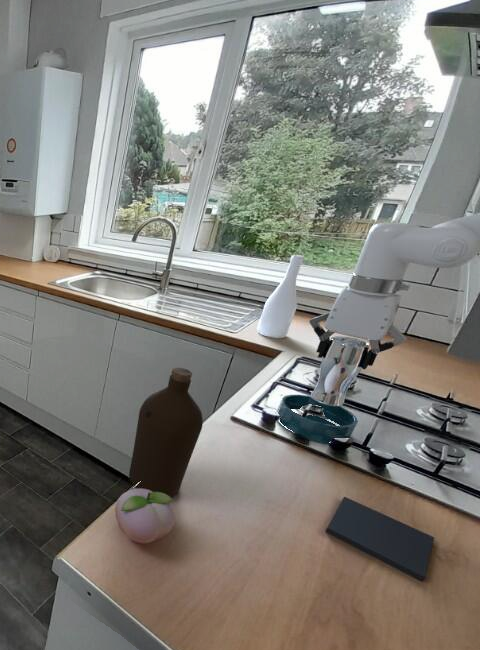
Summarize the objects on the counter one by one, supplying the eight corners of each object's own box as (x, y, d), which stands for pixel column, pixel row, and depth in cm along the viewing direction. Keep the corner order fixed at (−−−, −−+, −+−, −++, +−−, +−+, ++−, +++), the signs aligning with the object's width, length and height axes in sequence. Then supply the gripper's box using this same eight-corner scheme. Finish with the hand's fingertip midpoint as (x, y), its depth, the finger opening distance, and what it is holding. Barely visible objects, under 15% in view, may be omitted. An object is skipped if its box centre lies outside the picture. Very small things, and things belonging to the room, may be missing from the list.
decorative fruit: (140, 511, 75) (150, 468, 71) (176, 546, 68) (190, 501, 64) (98, 526, 71) (107, 482, 67) (132, 565, 65) (144, 518, 60)
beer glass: (300, 392, 100) (322, 335, 94) (330, 393, 99) (353, 336, 93) (322, 407, 93) (346, 347, 87) (353, 408, 93) (380, 347, 87)
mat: (431, 541, 69) (434, 537, 69) (422, 581, 63) (425, 577, 62) (342, 500, 78) (344, 496, 78) (325, 531, 71) (327, 527, 71)
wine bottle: (250, 330, 160) (275, 253, 147) (269, 328, 162) (295, 252, 149) (272, 339, 151) (301, 258, 139) (292, 337, 154) (321, 257, 141)
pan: (355, 430, 99) (363, 412, 97) (340, 453, 91) (349, 435, 89) (285, 405, 109) (292, 388, 107) (266, 424, 101) (273, 406, 99)
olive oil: (170, 510, 75) (204, 392, 65) (116, 481, 82) (139, 370, 71) (190, 482, 82) (224, 371, 71) (139, 457, 89) (163, 353, 78)
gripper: (435, 290, 81) (397, 370, 88) (326, 274, 93) (300, 346, 101) (430, 296, 77) (391, 380, 84) (316, 279, 89) (290, 353, 96)
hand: (342, 361), depth 92 cm, fingers closed on beer glass, 7 cm apart
